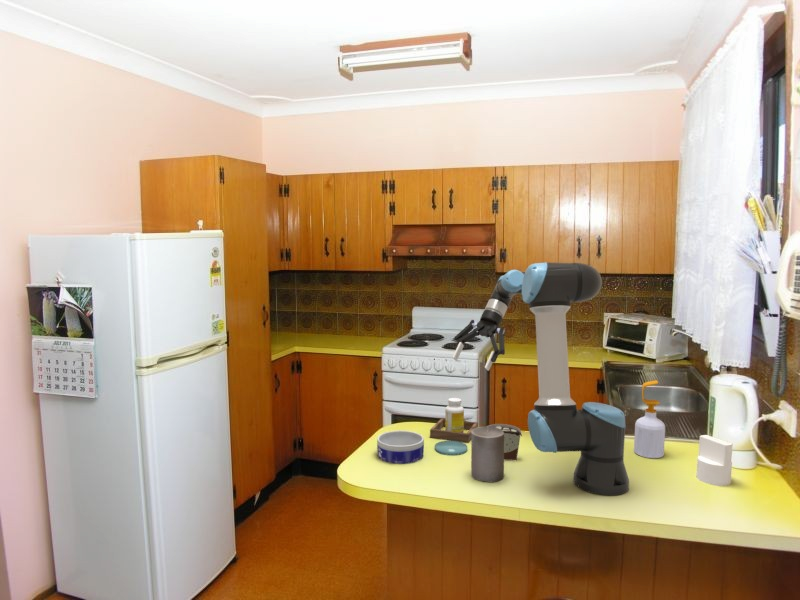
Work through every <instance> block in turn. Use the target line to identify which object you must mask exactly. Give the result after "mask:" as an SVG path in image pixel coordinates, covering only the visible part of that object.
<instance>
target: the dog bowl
mask: <svg viewBox="0 0 800 600" xmlns="http://www.w3.org/2000/svg"><path fill="white" fill-rule="evenodd" d="M424 438H425V437H424V436H423V435H422V434H421V433H418V432H415V431H410V430H390V431H386V432H383V433H380V434H379V435H378V436H377V438H376V442H377V443H376V446H377V447H376V449H377V452H376V453H377V458H378V459H380V460H381V461H382V462H384V463H388V464H395V465H407V464H413V463H416V462H419V461H421V460H422V459H423V457H424V453H425V449H424V448H425V446H424V445H425V439H424Z"/></svg>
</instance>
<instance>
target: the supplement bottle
mask: <svg viewBox="0 0 800 600" xmlns="http://www.w3.org/2000/svg"><path fill="white" fill-rule="evenodd" d="M447 403H448V405H447V406H446V407H445V411H444V413H445V418H444V419H445V427H444V428H445V429H444V431H452V432H460V433H465V430H464V421H465V418H464V417H465V416H464V415H465V409H464V406H462V405H461V404H462V399H461V398H457V397H451V398H450V397H449V398H448V401H447Z"/></svg>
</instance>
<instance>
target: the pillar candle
mask: <svg viewBox="0 0 800 600" xmlns="http://www.w3.org/2000/svg"><path fill="white" fill-rule="evenodd" d="M488 426H489V425H487V426H478V427H477V428H474V429H473V430H472V432H471V440H470V441H471V443H470V444H471V445H470V446H471V452H470V453H471V455H470V456H471V457H470V459H471V461H470V463H471V464H470V468H471V469H470V472H471V473H470V475H471V477H472V478H473V479H474V480H476V481H480V482H481V481H482V482H484V483H495V482H499V481H501V480H503V478H504V477H505V460H504V432H503V430H501V429H499V428H496V427H488Z"/></svg>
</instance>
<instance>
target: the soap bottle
mask: <svg viewBox="0 0 800 600" xmlns="http://www.w3.org/2000/svg"><path fill="white" fill-rule="evenodd" d="M655 385H656V386H657V385H659V382H658V380H657V379H656V380H655V379H654V380H650V381H645V382H643V384H642V386H641V399H642V402H643V403H644V404H646V406H647V407H648V408H645V412H644V413H645V414H644V416H641V417H640V418H637V419H636V421H635V424H634V440H633V441H634V442H633V451H634V453H635V454H636V455H638V456H640V457H643V458H646V459H660V458H663V457H664V454H665V439H666V438H665V437H666V425H665V423H664V421H662V420H661V419H659V418H658V417H657V409H655V407H656V406H657V405H660V401H659V400H657V399H646V398H645V389H646V387H650V386H655Z"/></svg>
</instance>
